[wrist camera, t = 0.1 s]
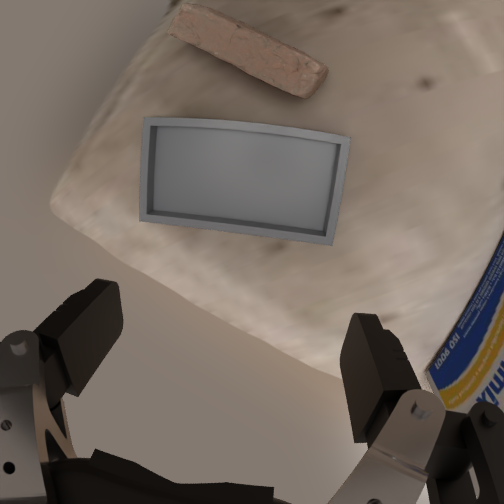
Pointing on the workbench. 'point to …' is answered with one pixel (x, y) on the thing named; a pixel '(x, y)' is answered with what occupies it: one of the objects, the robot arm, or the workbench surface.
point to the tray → (242, 177)
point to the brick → (249, 50)
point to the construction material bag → (475, 350)
